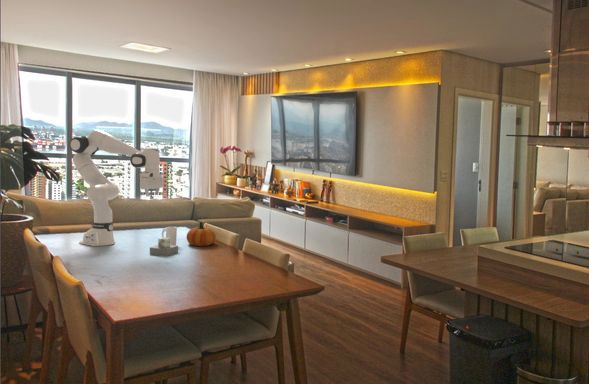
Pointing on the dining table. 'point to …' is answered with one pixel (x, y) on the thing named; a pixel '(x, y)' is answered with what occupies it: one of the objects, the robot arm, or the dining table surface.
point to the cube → (164, 242)
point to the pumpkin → (201, 236)
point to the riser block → (164, 250)
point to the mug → (170, 234)
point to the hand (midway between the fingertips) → (152, 195)
